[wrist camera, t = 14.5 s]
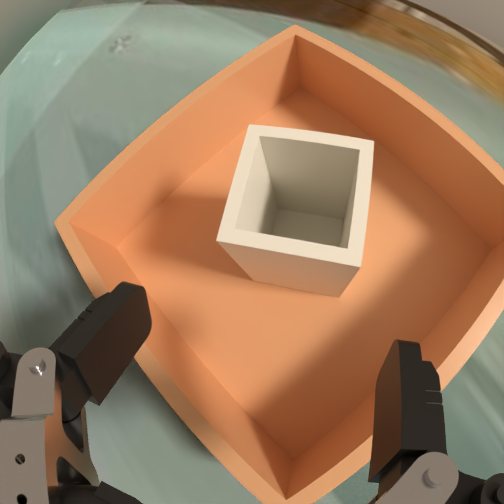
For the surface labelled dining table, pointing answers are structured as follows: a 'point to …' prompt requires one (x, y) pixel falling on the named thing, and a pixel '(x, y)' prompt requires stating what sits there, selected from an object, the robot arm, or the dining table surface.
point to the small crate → (299, 208)
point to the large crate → (285, 299)
